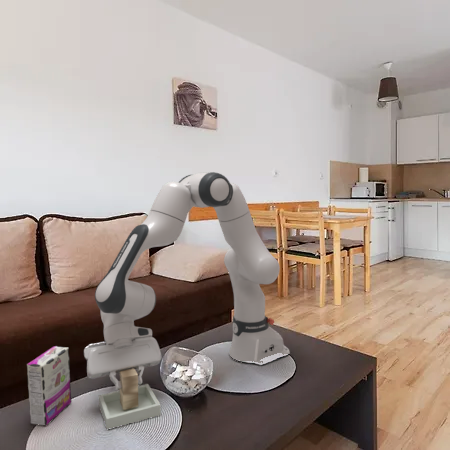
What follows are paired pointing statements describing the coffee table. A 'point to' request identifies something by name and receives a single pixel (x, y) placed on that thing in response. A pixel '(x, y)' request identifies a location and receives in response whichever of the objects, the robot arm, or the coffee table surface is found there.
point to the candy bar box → (49, 385)
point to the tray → (118, 416)
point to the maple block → (129, 388)
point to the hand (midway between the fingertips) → (129, 386)
